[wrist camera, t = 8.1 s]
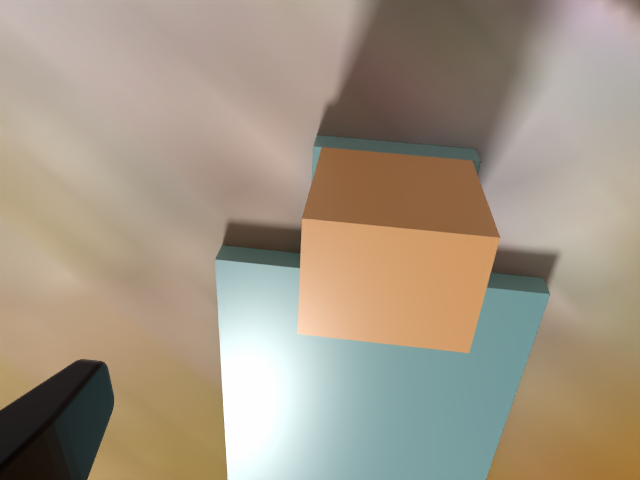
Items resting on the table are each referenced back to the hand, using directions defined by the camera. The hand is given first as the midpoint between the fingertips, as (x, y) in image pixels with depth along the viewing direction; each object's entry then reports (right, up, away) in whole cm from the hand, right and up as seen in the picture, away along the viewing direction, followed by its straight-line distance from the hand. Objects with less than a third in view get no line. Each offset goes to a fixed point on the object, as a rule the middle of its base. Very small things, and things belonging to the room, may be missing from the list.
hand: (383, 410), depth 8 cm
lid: (0, -2, +10) cm, 10 cm away
